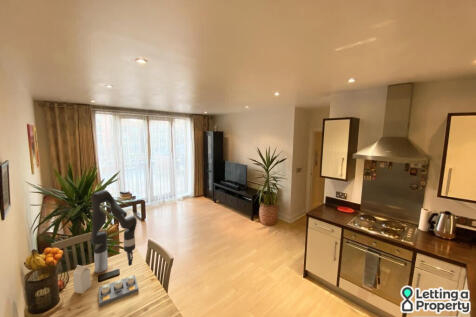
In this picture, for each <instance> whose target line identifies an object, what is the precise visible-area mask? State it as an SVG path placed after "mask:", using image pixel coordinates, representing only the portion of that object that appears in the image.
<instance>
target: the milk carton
mask: <svg viewBox="0 0 476 317" xmlns="http://www.w3.org/2000/svg"><path fill="white" fill-rule="evenodd" d="M72 277H73V279H72V280H73V292H74V293H77V294H83V293H86V291H87V290H88V289H90V288H91V287H92V286H91V285H92V283H91V282H92V281H91V270H90V268H88V267H87V265H79V264H77V265H76V268H75V270H74V271H73V272H72Z"/></svg>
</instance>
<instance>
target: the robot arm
mask: <svg viewBox="0 0 476 317" xmlns="http://www.w3.org/2000/svg"><path fill="white" fill-rule="evenodd" d="M106 202H108V203H109V206H110V212H111V214H112V216H114V217H115V219H117V221H118V223H119V225H120V227H121V228H122V229H123V230H124V231H123V251H124V252H126V258H127V262H128V264H127V265H128V266H132V265H133V259H134V252H133V251H134V250H135V249H136V238H135V236H136V235H135V231H136V227H137V224H138V222H137V221H138V220H137V218H136V217H135V216H132V215H131V216H129V217H127V216H128V214H127V212H126V211H125V210H124V209H123V208H122V207H121V206H120V205H119V204H118V202H117V201H116V199H115V198H114V197H113V195H112V194H111V193H110V192H109V191H108V190H107V189H102V190H100V191H96V192H94V193H92V194H91V210H92V213H91V214H92V216H91V237H90V240H91V241H90V242H91V245H92V246H95V247H94V248H93V256H94V259H93V260H94V272H95V273H98V274H100V273H103V272H105V271H107V270H108V268H109V265H108V264H109V263H108V234H107V232H106V231H105V230H104V231H100V230H101V229H102V228H103V226H104V225H105V224H106V221H107V214H106V212H105V211H104V210H102V208H101V204H103V203H106ZM126 217H127V218H126Z"/></svg>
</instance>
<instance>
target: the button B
mask: <svg viewBox="0 0 476 317" xmlns="http://www.w3.org/2000/svg"><path fill="white" fill-rule="evenodd" d="M114 282H115V289H116V290H118V289H121V288H122V280H121V279H118V280H116V281H114Z"/></svg>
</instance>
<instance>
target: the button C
mask: <svg viewBox="0 0 476 317" xmlns="http://www.w3.org/2000/svg"><path fill="white" fill-rule="evenodd" d="M127 277H128V278H127ZM127 277H126V278H127V285H132V284H133V283H134V276H133V275H129V276H127Z"/></svg>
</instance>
